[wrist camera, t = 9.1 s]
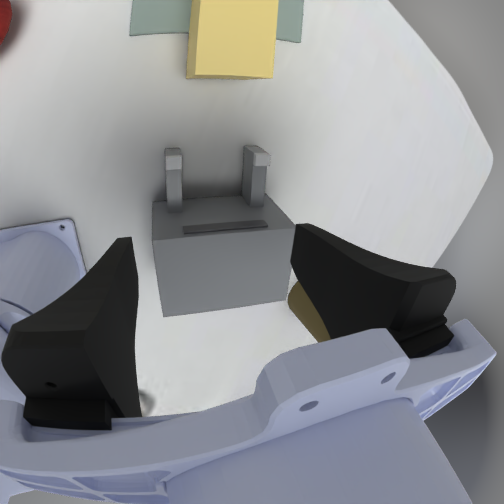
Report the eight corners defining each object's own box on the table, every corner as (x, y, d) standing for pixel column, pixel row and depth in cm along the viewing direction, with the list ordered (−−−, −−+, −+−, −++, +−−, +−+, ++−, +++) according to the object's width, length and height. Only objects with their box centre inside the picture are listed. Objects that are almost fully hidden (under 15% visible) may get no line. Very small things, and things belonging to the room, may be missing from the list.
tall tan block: (186, 78, 17) (195, 74, 12) (194, -23, 12) (207, -54, 8) (244, 79, 18) (272, 78, 13) (252, -18, 14) (281, -44, 9)
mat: (130, 36, 14) (129, 35, 14) (137, -29, 11) (137, -31, 11) (298, 43, 17) (300, 42, 17) (302, -16, 14) (304, -18, 14)
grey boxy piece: (159, 267, 24) (163, 317, 19) (149, 149, 19) (146, 173, 14) (260, 257, 27) (285, 299, 22) (270, 146, 21) (306, 167, 17)
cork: (318, 260, 29) (380, 338, 20) (346, 285, 32) (401, 354, 23) (276, 301, 30) (322, 386, 21) (308, 320, 34) (353, 394, 25)
